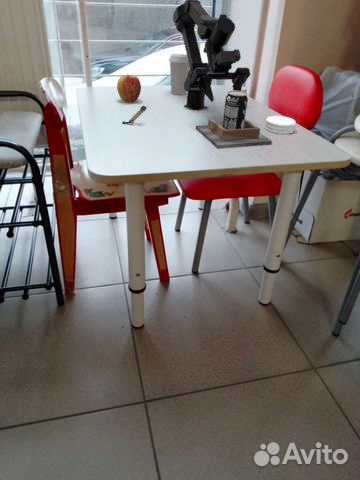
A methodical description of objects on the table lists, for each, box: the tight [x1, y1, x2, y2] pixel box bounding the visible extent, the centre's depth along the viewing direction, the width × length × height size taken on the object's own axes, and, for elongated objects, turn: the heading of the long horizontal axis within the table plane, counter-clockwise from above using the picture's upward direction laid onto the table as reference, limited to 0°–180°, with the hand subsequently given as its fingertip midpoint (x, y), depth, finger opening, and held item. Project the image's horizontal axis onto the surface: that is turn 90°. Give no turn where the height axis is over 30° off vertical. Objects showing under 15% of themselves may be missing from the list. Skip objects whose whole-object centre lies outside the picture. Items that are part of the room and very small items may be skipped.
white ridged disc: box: [264, 115, 297, 135], centre depth 120 cm, size 10×10×4 cm
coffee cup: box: [168, 53, 190, 96], centre depth 152 cm, size 10×10×15 cm
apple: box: [116, 73, 142, 103], centre depth 138 cm, size 9×9×10 cm
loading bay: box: [195, 118, 273, 149], centre depth 112 cm, size 18×18×4 cm
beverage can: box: [222, 90, 249, 130], centre depth 109 cm, size 7×7×12 cm
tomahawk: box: [121, 105, 147, 126], centre depth 126 cm, size 21×7×1 cm, turn 167°
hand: (225, 100), depth 114 cm, fingers open, 9 cm apart
